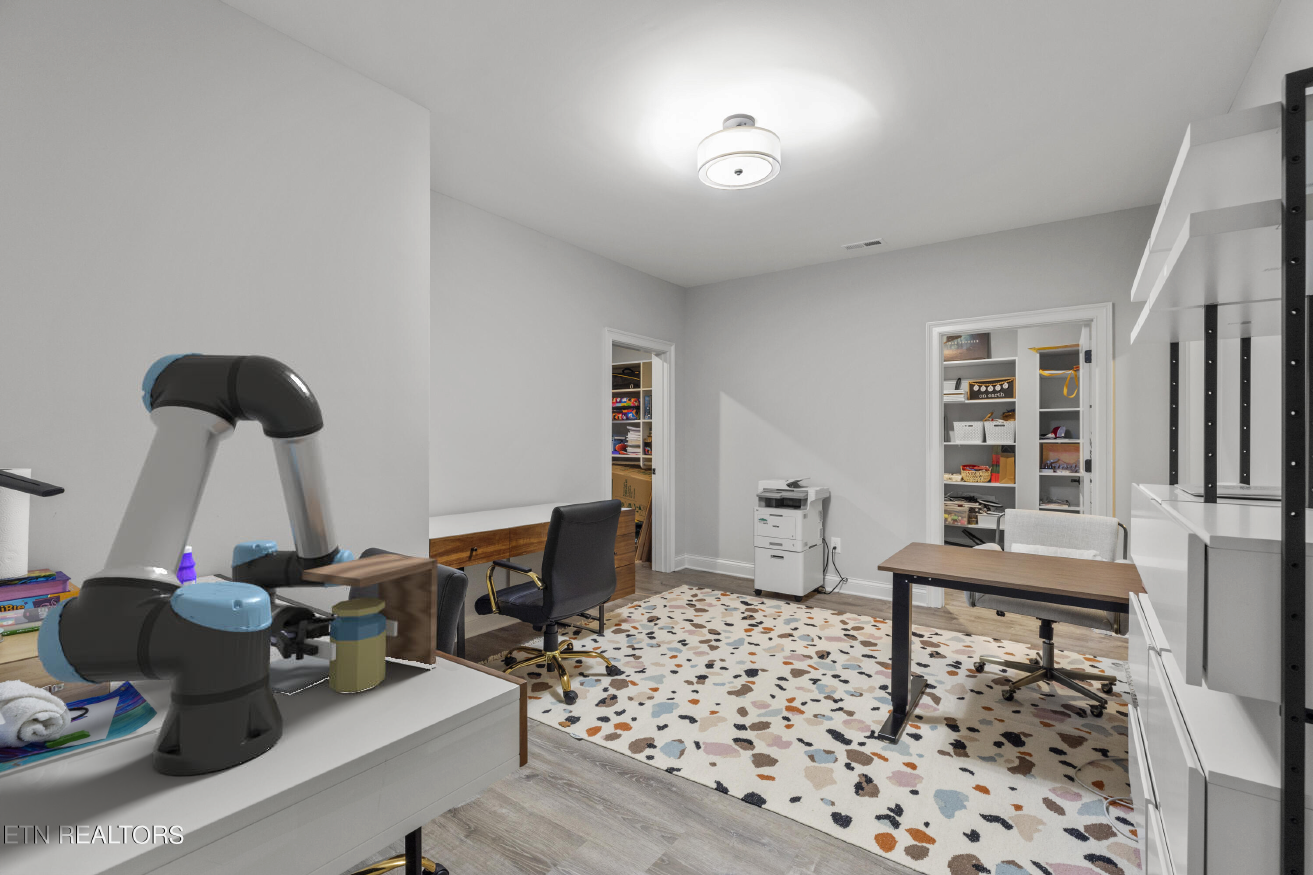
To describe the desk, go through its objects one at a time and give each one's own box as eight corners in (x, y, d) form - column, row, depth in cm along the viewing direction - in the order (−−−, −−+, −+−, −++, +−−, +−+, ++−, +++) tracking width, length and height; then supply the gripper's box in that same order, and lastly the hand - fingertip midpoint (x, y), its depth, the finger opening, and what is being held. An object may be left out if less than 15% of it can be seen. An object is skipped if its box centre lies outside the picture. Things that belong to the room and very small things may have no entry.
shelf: (435, 667, 116) (437, 559, 116) (357, 705, 99) (359, 578, 99) (383, 656, 121) (384, 553, 122) (300, 691, 104) (302, 571, 105)
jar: (356, 699, 101) (358, 613, 101) (316, 691, 104) (318, 607, 104) (396, 679, 110) (397, 599, 110) (358, 672, 113) (359, 595, 113)
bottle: (200, 615, 148) (201, 547, 148) (172, 621, 143) (173, 550, 143) (188, 611, 152) (189, 544, 152) (160, 616, 147) (161, 547, 147)
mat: (366, 663, 117) (366, 659, 117) (289, 695, 103) (289, 691, 103) (310, 652, 123) (310, 648, 123) (230, 680, 109) (230, 676, 109)
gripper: (341, 625, 127) (417, 639, 119) (218, 666, 103) (303, 686, 96) (341, 591, 127) (417, 602, 119) (219, 624, 104) (303, 640, 96)
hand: (366, 639), depth 107 cm, fingers open, 13 cm apart
